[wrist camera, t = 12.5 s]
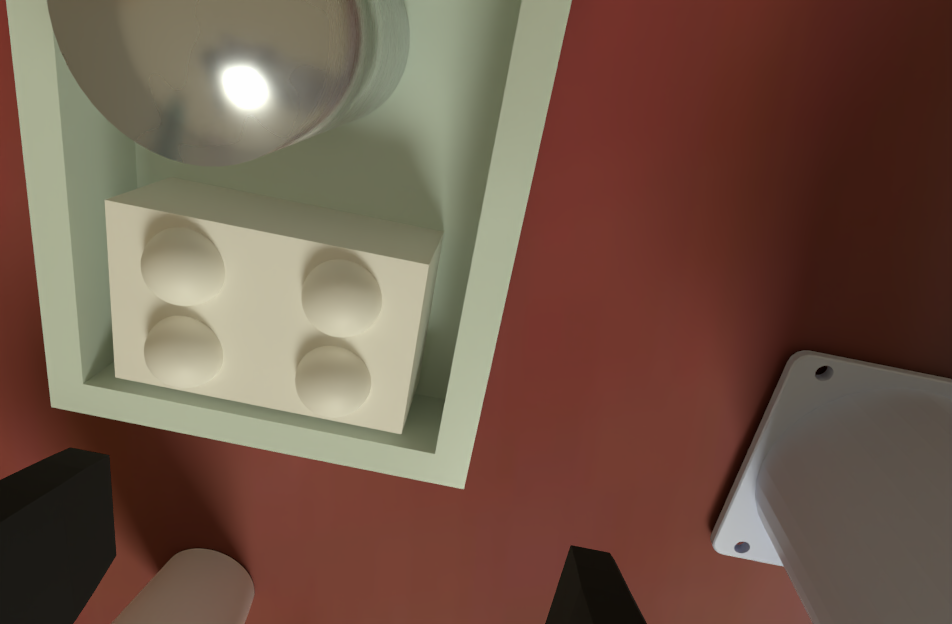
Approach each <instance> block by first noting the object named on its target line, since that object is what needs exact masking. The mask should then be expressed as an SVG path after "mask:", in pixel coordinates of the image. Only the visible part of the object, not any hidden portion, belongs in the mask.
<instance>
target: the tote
mask: <svg viewBox="0 0 952 624" xmlns="http://www.w3.org/2000/svg"><path fill="white" fill-rule="evenodd" d="M403 1H404V4H405V8H406V11H407V15H408V21H409V27H410V48H409V56H408V60H407V65H406V68H405V71H404V74H403V76H402V78H401V80H400V82H399V84H398V86H397V87H396V89H395V90H394V92H393V93H392V95H391V96H390V97H389V98H388V99H387V100H386V102H385V103H383V104H382V105H381V106H380V107H379V108H378V109H376V110H375V111H373V112H372V113H370V114H368V115H366V116H364V117H362V118H360V119H357V120H355V121H352V122H349V123H347V124H344V125H342V126H339V127H336V128H334V129H331V130H329V131H326V132H323V133H321V134H318V135H316V136H313V137H311V138H308V139H305V140H303V141H300V142H298V143H295V144H292V145H290V146H287V147H285V148H282V149H279V150H277V151H274V152H272V153H269V154H267V155H264V156H261V157H259V158H256V159H254V160H251V161H247V162H243V163H240V164H236V165H228V166H220V167H217V166H198V165H191V164H185V163H182V162H178V161H175V160H171V159H168V158H166V157H163V156H161V155H159V154H156V153H154V152H152V151H150V150H148V149H146V148H145V147H143V146H141V145H139V144H137V143H136V142H134V141H133V140H132V139H130V138H129V137H127V136H126V135H125V134H123V133H122V132H120V131H119V130H118V129H117V128H116V127H115V126H114V125H113V124H111V123H110V122H109V121H108V120H107V119H106V118H105V117H104V116H103V115H102V114H101V113H100V112H99V111H98V109H97V108H96V107H95V106H94V105H93V104H92V103H91V101H90V100H89V99H88V97H87V96H86V95H85V93H84V92H83V91H82V89H81V88H80V87H79V85H78V83H77V82H76V80H75V78H74V77H73V75H72V73H71V72H70V70H69V68H68V66H67V64H66V62H65V60H64V57H63V55H62V53H61V51H60V49H59V46H58V43H57V40H56V37H55V34H54V32H53V28H52V24H51V20H50V16H49V12H48V5H47V0H6V5H7V14H8V23H9V32H10V41H11V50H12V59H13V68H14V77H15V86H16V95H17V104H18V113H19V122H20V131H21V140H22V149H23V158H24V167H25V176H26V185H27V194H28V203H29V212H30V221H31V230H32V239H33V248H34V257H35V266H36V275H37V284H38V293H39V302H40V311H41V320H42V329H43V338H44V347H45V356H46V365H47V374H48V383H49V392H50V401H51V407H53V408H58V409H63V410H68V411H73V412H78V413H83V414H88V415H93V416H98V417H103V418H108V419H113V420H118V421H123V422H128V423H134V424H139V425H144V426H149V427H154V428H159V429H164V430H169V431H174V432H179V433H184V434H189V435H194V436H199V437H204V438H209V439H214V440H219V441H224V442H229V443H234V444H239V445H244V446H249V447H254V448H259V449H264V450H269V451H274V452H279V453H284V454H289V455H294V456H299V457H304V458H309V459H314V460H319V461H325V462H330V463H335V464H340V465H345V466H350V467H355V468H360V469H365V470H370V471H375V472H380V473H385V474H390V475H395V476H400V477H405V478H410V479H415V480H420V481H425V482H430V483H435V484H440V485H445V486H450V487H455V488H460V489H464V486H465V481H466V477H467V472H468V468H469V463H470V459H471V454H472V450H473V445H474V441H475V436H476V431H477V427H478V422H479V418H480V413H481V409H482V404H483V400H484V395H485V391H486V386H487V382H488V377H489V373H490V368H491V364H492V359H493V355H494V350H495V346H496V341H497V336H498V332H499V327H500V323H501V318H502V314H503V309H504V305H505V300H506V296H507V291H508V287H509V282H510V278H511V273H512V269H513V264H514V260H515V255H516V250H517V246H518V241H519V237H520V232H521V228H522V223H523V219H524V214H525V210H526V205H527V201H528V196H529V192H530V187H531V183H532V178H533V174H534V169H535V164H536V160H537V155H538V151H539V146H540V142H541V137H542V133H543V128H544V124H545V119H546V115H547V110H548V106H549V101H550V97H551V92H552V88H553V83H554V78H555V74H556V69H557V65H558V60H559V56H560V51H561V47H562V42H563V38H564V33H565V29H566V24H567V20H568V15H569V11H570V6H571V2H572V0H403ZM169 177H173V178H178V179H183V180H188V181H193V182H198V183H203V184H208V185H213V186H218V187H223V188H228V189H233V190H238V191H243V192H248V193H253V194H258V195H263V196H268V197H273V198H278V199H283V200H288V201H293V202H298V203H303V204H308V205H313V206H318V207H323V208H328V209H333V210H338V211H343V212H348V213H353V214H358V215H363V216H368V217H373V218H378V219H383V220H388V221H393V222H398V223H403V224H408V225H413V226H418V227H423V228H428V229H433V230H438V231H443V232H444V236H443V242H442V247H441V253H440V259H439V265H438V271H437V277H436V283H435V289H434V295H433V301H432V307H431V313H430V318H429V324H428V330H427V336H426V342H425V348H424V354H423V360H422V366H421V372H420V378H419V382H418V385H417V388H416V391H415V394H414V398H413V401H412V404H411V407H410V410H409V413H408V416H407V419H406V422H405V425H404V428H403V431H402V434H397V433H392V432H387V431H382V430H377V429H372V428H367V427H362V426H357V425H352V424H347V423H342V422H337V421H332V420H327V419H322V418H317V417H312V416H306V415H301V414H296V413H291V412H286V411H281V410H276V409H271V408H266V407H261V406H256V405H251V404H246V403H241V402H236V401H231V400H226V399H221V398H216V397H211V396H206V395H201V394H196V393H191V392H186V391H181V390H176V389H171V388H166V387H161V386H156V385H151V384H146V383H141V382H136V381H131V380H126V379H121V378H116V377H115V366H114V349H113V333H112V316H111V300H110V283H109V266H108V250H107V233H106V217H105V200H106V199H108V198H111V197H114V196H117V195H120V194H123V193H126V192H129V191H132V190H135V189H137V188H140V187H143V186H146V185H149V184H152V183H155V182H158V181H161V180H164V179H166V178H169Z"/></svg>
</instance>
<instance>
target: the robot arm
mask: <svg viewBox="0 0 952 624" xmlns="http://www.w3.org/2000/svg"><path fill="white" fill-rule="evenodd" d="M822 366H827V370H826V371H825V372H824V373H822V374H820V375H815V372H816V371H817V369H818V368H820V367H822ZM710 540H711V542H712V545H713V548H714V550H716V551H717V552H718V553H720V554H723V555H729V556H734V557H739V558H744V559H749V560H754V561H759V562H764V563H769V564H774V565H779V566H784V568H785V570H786V572H787V574H788V576H789V578H790V580H791V582H792V584H793V585H794V587H795V589H796V591H797V593H798V595H799V597H800V599H801V601H802V603H803V605H804V607H805V609H806V611H807V613H808V615H809V617H810V619H811V621H812V623H813V624H952V379H950V378H945V377H940V376H935V375H930V374H925V373H920V372H915V371H910V370H905V369H900V368H895V367H890V366H885V365H880V364H875V363H870V362H865V361H860V360H855V359H850V358H845V357H840V356H835V355H830V354H825V353H820V352H815V351H810V350H803V351H799V352H796V353H795V354H794V355H792V356H791V357H790V358H789V360H788V361H787V363H786V366H785V368H784V370H783V372H782V375H781V377H780V379H779V381H778V384H777V386H776V388H775V390H774V393H773V395H772V397H771V400H770V402H769V404H768V406H767V409H766V411H765V413H764V415H763V418H762V420H761V422H760V425H759V427H758V429H757V431H756V434H755V436H754V438H753V440H752V443H751V445H750V447H749V449H748V452H747V454H746V456H745V459H744V461H743V463H742V465H741V468H740V470H739V472H738V474H737V477H736V479H735V481H734V484H733V486H732V488H731V490H730V493H729V495H728V497H727V499H726V502H725V504H724V506H723V508H722V511H721V513H720V515H719V518H718V520H717V522H716V524H715V527H714V529H713V531H712V533H711V537H710ZM739 542H744V543H743V544H740V545H736V544H737V543H739ZM115 556H116V544H115V530H114V515H113V501H112V487H111V472H110V458H109V455H106V454H101V453H96V452H90V451H85V450H80V449H75V448H68V449H66V450H64V451H61V452H59V453H57V454H54V455H52V456H50V457H48V458H46V459H43V460H41V461H39V462H37V463H35V464H33V465H31V466H29V467H26V468H24V469H22V470H20V471H18V472H16V473H14V474H12V475H10V476H8V477H6V478H4V479H2V480H0V624H73V623H74V622H75V620H76V619H77V617H78V616H79V614H80V613H81V611H82V610H83V608H84V606H85V605H86V603H87V602H88V600H89V599H90V597H91V596H92V594H93V593H94V591H95V589H96V588H97V586H98V584H99V583H100V581H101V580H102V578H103V576H104V575H105V573H106V571H107V570H108V568H109V566H110V565H111V563H112V561H113V560H114V558H115ZM545 624H647V623H646V621H645V619H644V617H643V616H642V614H641V612H640V610H639V608H638V606H637V604H636V602H635V600H634V598H633V596H632V594H631V592H630V590H629V588H628V586H627V584H626V582H625V580H624V578H623V576H622V574H621V572H620V570H619V568H618V566H617V564H616V562H615V560H614V559H613V557H612V556H611V554H610V553H608V552H603V551H598V550H592V549H587V548H582V547H577V546H572V545H571V546H570V549H569V552H568V555H567V558H566V562H565V565H564V568H563V571H562V574H561V577H560V580H559V583H558V586H557V589H556V592H555V595H554V599H553V602H552V605H551V608H550V611H549V614H548V617H547V620H546V623H545Z"/></svg>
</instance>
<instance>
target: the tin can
mask: <svg viewBox="0 0 952 624" xmlns="http://www.w3.org/2000/svg"><path fill="white" fill-rule="evenodd" d="M47 5H48V12H49V16H50V20H51V24H52V28H53V32H54V34H55V37H56V40H57V43H58V46H59V49H60V51H61V53H62V55H63V57H64V60H65V62H66V64H67V66H68V68H69V70H70V72H71V73H72V75H73V77H74V78H75V80H76V82H77V83H78V85H79V87H80V88H81V89H82V91H83V92H84V93H85V95H86V96H87V97H88V99H89V100H90V101H91V103H92V104H93V105H94V106H95V107H96V108H97V109H98V111H99V112H100V113H101V114H102V115H103V116H104V117H105V118H106V119H107V120H108V121H109V122H110V123H111V124H113V125H114V126H115V127H116V128H117V129H118V130H119V131H120V132H122V133H123V134H125V135H126V136H127V137H129V138H130V139H132V140H133V141H134V142H136V143H137V144H139V145H141V146H143V147H145V148H146V149H148V150H150V151H152V152H154V153H156V154H159V155H161V156H163V157H166V158H168V159H171V160H175V161H178V162H182V163H185V164H191V165H198V166H217V167H220V166H228V165H236V164H240V163H243V162H247V161H251V160H254V159H256V158H259V157H261V156H264V155H267V154H269V153H272V152H274V151H277V150H279V149H282V148H285V147H287V146H290V145H292V144H295V143H298V142H300V141H303V140H305V139H308V138H311V137H313V136H316V135H318V134H321V133H323V132H326V131H329V130H331V129H334V128H336V127H339V126H342V125H344V124H347V123H349V122H352V121H355V120H357V119H360V118H362V117H364V116H366V115H368V114H370V113H372V112H373V111H375V110H376V109H378V108H379V107H380V106H381V105H382V104H383V103H385V102H386V100H387V99H388V98H389V97H390V96H391V95H392V93H393V92H394V90H395V89H396V87H397V86H398V84H399V82H400V80H401V78H402V76H403V74H404V71H405V68H406V65H407V60H408V56H409V48H410V27H409V21H408V15H407V11H406V8H405V4H404V1H403V0H47Z"/></svg>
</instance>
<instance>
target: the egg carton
mask: <svg viewBox="0 0 952 624" xmlns="http://www.w3.org/2000/svg"><path fill="white" fill-rule="evenodd" d="M105 217H106V233H107V250H108V266H109V283H110V300H111V316H112V333H113V349H114V366H115V377H116V378H121V379H126V380H131V381H136V382H141V383H146V384H151V385H156V386H161V387H166V388H171V389H176V390H181V391H186V392H191V393H196V394H201V395H206V396H211V397H216V398H221V399H226V400H231V401H236V402H241V403H246V404H251V405H256V406H261V407H266V408H271V409H276V410H281V411H286V412H291V413H296V414H301V415H306V416H312V417H317V418H322V419H327V420H332V421H337V422H342V423H347V424H352V425H357V426H362V427H367V428H372V429H377V430H382V431H387V432H392V433H397V434H402V431H403V428H404V425H405V422H406V419H407V416H408V413H409V410H410V407H411V404H412V401H413V398H414V394H415V391H416V388H417V385H418V382H419V378H420V372H421V366H422V360H423V354H424V348H425V342H426V336H427V330H428V324H429V318H430V313H431V307H432V301H433V295H434V289H435V283H436V277H437V271H438V265H439V259H440V253H441V247H442V242H443V236H444V232H443V231H438V230H433V229H428V228H423V227H418V226H413V225H408V224H403V223H398V222H393V221H388V220H383V219H378V218H373V217H368V216H363V215H358V214H353V213H348V212H343V211H338V210H333V209H328V208H323V207H318V206H313V205H308V204H303V203H298V202H293V201H288V200H283V199H278V198H273V197H268V196H263V195H258V194H253V193H248V192H243V191H238V190H233V189H228V188H223V187H218V186H213V185H208V184H203V183H198V182H193V181H188V180H183V179H178V178H173V177H169V178H166V179H164V180H161V181H158V182H155V183H152V184H149V185H146V186H143V187H140V188H137V189H135V190H132V191H129V192H126V193H123V194H120V195H117V196H114V197H111V198H108V199H106V200H105Z"/></svg>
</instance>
